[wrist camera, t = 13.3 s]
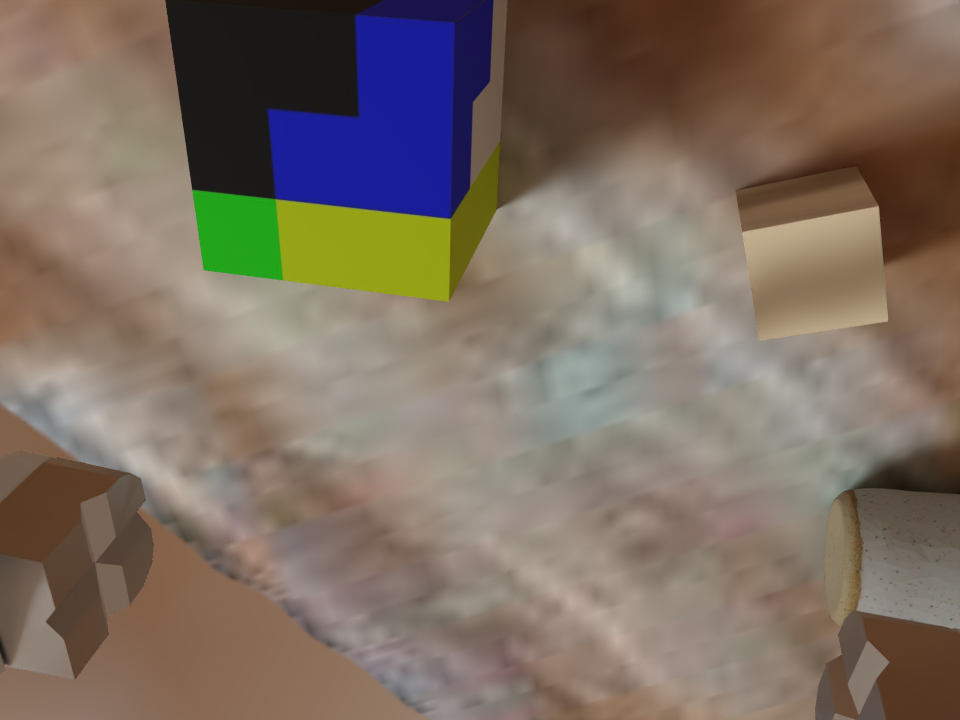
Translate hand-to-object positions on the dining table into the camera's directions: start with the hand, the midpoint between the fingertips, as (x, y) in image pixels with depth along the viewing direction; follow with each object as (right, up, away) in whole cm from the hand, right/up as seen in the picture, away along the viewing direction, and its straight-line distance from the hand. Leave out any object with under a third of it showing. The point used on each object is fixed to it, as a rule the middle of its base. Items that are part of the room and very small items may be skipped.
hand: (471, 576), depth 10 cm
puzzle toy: (-4, +15, +29) cm, 33 cm away
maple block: (+15, +8, +29) cm, 33 cm away
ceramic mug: (+23, -7, +36) cm, 43 cm away
